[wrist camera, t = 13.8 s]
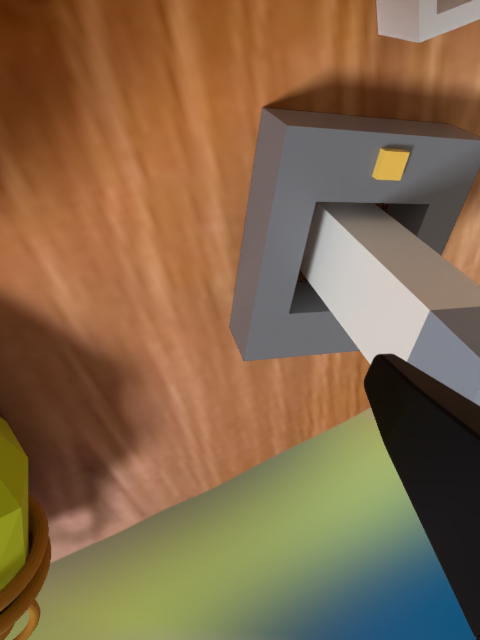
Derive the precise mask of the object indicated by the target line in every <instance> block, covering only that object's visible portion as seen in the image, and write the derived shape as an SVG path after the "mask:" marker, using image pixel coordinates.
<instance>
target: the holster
mask: <svg viewBox="0 0 480 640" xmlns="http://www.w3.org/2000/svg"><path fill="white" fill-rule="evenodd" d="M376 5H377V23H378V34H379V35H384V36H389V37H393V38H398V39H403V40H407V41H412V42H417V43H421V42H423V41H426V40H428V39H431V38H433V37H436V36H438V35H441V34H443V33H446V32H449V31H451V30H454V29H456V28H459V27H461V26H464V25H466V24H469V23H471V22H474V21H477V20H479V19H480V0H376Z"/></svg>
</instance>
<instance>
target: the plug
mask: <svg viewBox="0 0 480 640" xmlns="http://www.w3.org/2000/svg"><path fill="white" fill-rule="evenodd" d="M300 271H301V272H302V274H303V275H304V276H305V278H306V279H307V280H308V282H309V283H310V284H311V286H312V287H313V288H314V290H315V291H316V292H317V294H318V295H319V296H320V298H321V299H322V300H323V302H324V303H325V304H326V306H327V307H328V308H329V310H330V311H331V312H332V314H333V315H334V316H335V318H336V319H337V320H338V322H339V323H340V324H341V326H342V327H343V328H344V330H345V331H346V332H347V334H348V335H349V336H350V338H351V339H352V340H353V342H354V343H355V345H356V346H357V347H358V349H359V350H360V351H361V353H362V354H363V355H364V357H365V358H366V359H367V361H368V362H369V363H370V365H371V363H372V361H373V358H374V357H375V356H376V355H378V354H388V353H391V354H395V355H396V356H398V357H400V358H401V359H403V360H405V361H406V362H408V363H410V364H411V365H413V366H415V367H416V368H418V369H420V370H421V371H423V372H425V373H426V374H428V375H430V376H431V377H433V378H435V379H436V380H438V381H439V382H441V383H443V384H444V385H446V386H448V387H449V388H451V389H453V390H454V391H456V392H458V393H459V394H461V395H463V396H464V397H466V398H468V399H469V400H471V401H473V402H474V403H476V404H477V405H479V406H480V286H479V285H478V284H477V283H475V282H474V281H473V280H471V279H470V278H469V277H468V276H466V275H465V274H464V273H462V272H461V271H460V270H459V269H457V268H456V267H455V266H454V265H452V264H451V263H450V262H448V261H447V260H446V259H445V258H443V257H442V256H441V255H439V254H438V253H437V252H436V251H434V250H433V249H432V248H431V247H429V246H428V245H427V244H425V243H424V242H423V241H422V240H420V239H419V238H418V237H416V236H415V235H414V234H413V233H411V232H410V231H409V230H408V229H406V228H405V227H404V226H402V225H401V224H400V223H399V222H397V221H396V220H395V219H393V218H392V217H391V216H390V215H388V214H387V213H386V212H384V211H383V210H382V209H381V208H379V207H378V206H377V205H376V204H374V203H354V202H316V204H315V208H314V212H313V216H312V220H311V224H310V228H309V233H308V237H307V241H306V245H305V249H304V253H303V257H302V262H301V266H300Z"/></svg>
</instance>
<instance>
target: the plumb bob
mask: <svg viewBox="0 0 480 640" xmlns="http://www.w3.org/2000/svg"><path fill="white" fill-rule="evenodd" d="M48 533H49V528H48V521H47V518H46V515H45V512H44V511H43V509H42V507H41V506H40V504H39V503H38V502H37V501H36V499H35V498H33V497H32V496H31V495H30V494H28V457H27V456H26V454H25V452H24V450H23V449H22V447H21V445H20V444H19V442H18V440H17V438H16V437H15V435H14V433H13V432H12V430H11V428H10V426H9V425H8V423H7V421H5V420H4V419H3V418H1V417H0V640H4V639H5V638H6V637H7V635H8V634H9V633H10V631H11V629H12V628H13V626H14V624H15V622H16V621H17V620H18V619H19V618H20V617H21V616H22V615H23V614H24V613H25V611H26V610H27V609H28V610H29V612H30V619H29V622H28V624H27V625H26V627H25V628H24V630H23V631H22V632H21V633H20V634H19V635H18V636H17V637H16V638H15V639H13V640H27V639H28V638H29V636H30V635H31V634H32V632H33V631H34V630H35V628H36V626H37V624H38V622H39V618H40V607H39V605H38V603H37V601H36V600H35V598H36V596H37V595H38V593H39V592H40V590H41V588H42V586H43V584H44V581H45V579H46V576H47V573H48V570H49V566H50V560H51V544H50V539H49V536H48Z"/></svg>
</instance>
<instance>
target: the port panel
mask: <svg viewBox="0 0 480 640" xmlns="http://www.w3.org/2000/svg"><path fill="white" fill-rule="evenodd" d="M479 168H480V137H479V136H477V135H474V134H472V133H470V132H467V131H465V130H462V129H460V128H457V127H455V126H453V125H450V124H442V123H431V122H420V121H408V120H397V119H386V118H375V117H364V116H353V115H342V114H330V113H319V112H308V111H297V110H286V109H275V108H264V107H262V113H261V120H260V127H259V133H258V140H257V147H256V153H255V160H254V167H253V173H252V180H251V186H250V193H249V200H248V206H247V213H246V220H245V226H244V233H243V240H242V246H241V253H240V260H239V266H238V273H237V279H236V286H235V293H234V299H233V306H232V313H231V319H230V326H229V328H230V330H231V333H232V335H233V337H234V340H235V342H236V344H237V347H238V349H239V351H240V354H241V356H242V358H243V361H251V360H262V359H273V358H284V357H295V356H306V355H317V354H328V353H339V352H350V351H360V350H359V349H358V347H357V346H356V345H355V343H354V342H353V340H352V339H351V338H350V336H349V335H348V334H347V332H346V331H345V330H344V328H343V327H342V326H341V324H340V323H339V322H338V320H337V319H336V318H335V316H334V315H333V314H332V312H331V311H330V310H329V308H328V307H327V306H326V304H325V303H324V302H323V300H322V299H321V298H320V296H319V295H318V294H317V292H316V291H315V290H314V288H313V287H312V286H311V284H310V283H309V282H308V281H307V282H297V278H298V274H299V270H300V266H301V262H302V257H303V253H304V249H305V245H306V241H307V237H308V233H309V228H310V224H311V220H312V216H313V212H314V208H315V204H316V202H354V203H388V205H387V208H386V211H385V212H386V213H387V214H388V215H390V216H391V217H392V218H393V219H395V220H396V221H397V222H399V223H400V224H401V225H402V226H404V227H405V228H406V229H408V230H409V231H410V232H411V233H413V234H414V235H415V236H416V237H418V238H419V239H420V240H422V241H423V242H424V243H425V244H427V245H428V246H429V247H431V248H432V249H433V250H434V251H436V252H437V253H438V254H439V255H441V254H442V252H443V250H444V248H445V245H446V243H447V241H448V239H449V236H450V234H451V232H452V230H453V227H454V225H455V223H456V221H457V218H458V216H459V214H460V211H461V209H462V207H463V205H464V202H465V200H466V198H467V196H468V193H469V191H470V189H471V187H472V184H473V182H474V180H475V178H476V175H477V173H478V171H479Z"/></svg>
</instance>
